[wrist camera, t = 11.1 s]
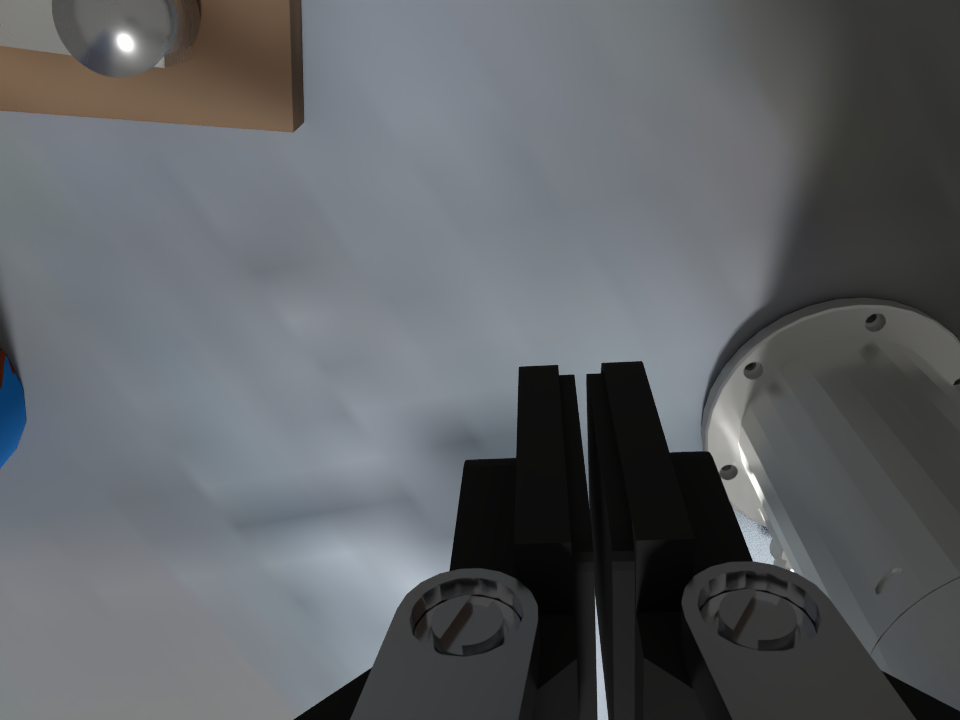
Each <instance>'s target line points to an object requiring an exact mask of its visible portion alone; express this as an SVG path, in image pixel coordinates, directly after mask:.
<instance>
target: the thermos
mask: <svg viewBox="0 0 960 720" xmlns="http://www.w3.org/2000/svg"><path fill="white" fill-rule="evenodd" d="M25 424H26V412H25V402H24V391H23V388H22V385H21V383H20V381H19V379H18V377H17V375H16V373H15V371H14V369H13V367H12V365H11V363H10V361H9V359H8V357H7V355H6V354H5V353H4V352H3V351H2V350H1V349H0V468H1V467H2V466H3V464H4V463H5V462H6V461H7V460H8V458H9V457H10V456H11V455H12V453H13V452H14V451H15V450H16V448H17V446H18V443H19V440H20V437H21V435H22V432H23V429H24V426H25Z"/></svg>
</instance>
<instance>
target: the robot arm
mask: <svg viewBox="0 0 960 720" xmlns="http://www.w3.org/2000/svg"><path fill="white" fill-rule="evenodd" d="M871 315H872V316H871ZM869 316H871V317H870V318H868V317H869ZM867 318H868V319H867ZM752 362H753V363H752ZM749 363H752V364H751V365H750V366H746V365H748V364H749ZM586 383H587V426H588V466H589V501H588V492H587V483H586V474H585V465H584V456H583V448H582V439H581V430H580V421H579V412H578V403H577V394H576V386H575V377H574V375H559V371H558V365H548V366H525V367H519V382H518V418H517V454H516V458H505V459H478V460H466V461H465V463H464V468H463V476H462V483H461V491H460V498H459V505H458V513H457V520H456V528H455V535H454V542H453V550H452V557H451V564H450V571H449V572H445V573H440V574H438V575H436V576H434V577H432V578H429V579H427V580H425V581H423V582H421V583H420V584H419V585H417V586H416V587H415V588H414V589H413V590H411V591H410V592H409V593H408V594H407V595H406V596H405V598H404V599H403V601H402V602H401V604H400V605H399V607H398V608H397V610H396V613H395V615H394V617H393V620H392V622H391V624H390V627H389V629H388V631H387V634H386V636H385V639H384V641H383V643H382V646H381V648H380V650H379V653H378V655H377V657H376V660H375V662H374V664H373V667H372V668H371V669H369V670H368V671H366V672H365V673H363V674H362V675H360V676H359V677H357V678H356V679H354V680H353V681H351V682H350V683H348V684H347V685H345V686H344V687H342V688H341V689H339V690H337V691H336V692H334V693H333V694H331V695H330V696H328V697H327V698H325V699H324V700H322V701H321V702H319V703H318V704H316V705H315V706H313V707H312V708H310V709H309V710H307V711H306V712H304V713H303V714H301V715H300V716H298V717H297V718H295V719H294V720H597V678H596V634H595V597H596V606H597V616H598V625H599V635H600V644H601V653H602V663H603V672H604V681H605V691H606V700H607V709H608V719H609V720H960V341H959V340H958V339H957V338H956V337H955V335H954V334H952V333H951V332H950V331H949V330H948V329H946V328H945V327H944V326H943V325H942V324H940V323H939V322H938V321H937V320H935V319H934V318H932V317H930V316H928V315H927V314H925V313H923V312H921V311H920V310H918V309H916V308H913V307H910V306H907V305H904V304H901V303H898V302H895V301H891V300H882V299H874V298H849V299H836V300H832V301H828V302H823V303H819V304H815V305H810V306H808V307H805V308H803V309H800V310H798V311H796V312H793V313H791V314H788V315H786V316H784V317H782V318H780V319H779V320H777V321H775V322H774V323H772V324H770V325H769V326H767V327H765V328H764V329H762V330H760V331H759V332H758V333H757V334H756V335H754V336H753V337H752V338H751V339H750V340H749V341H747V342H746V343H745V344H744V345H743V346H741V347H740V348H739V349H738V351H737V352H736V353H735V354H734V355H733V357H732V358H731V359H730V360H729V361H728V363H727V364H726V365H725V366H724V367H723V369H722V370H721V372H720V374H719V376H718V377H717V379H716V381H715V383H714V385H713V386H712V388H711V390H710V393H709V396H708V399H707V402H706V405H705V408H704V411H703V420H702V429H701V436H702V445H703V451H700V452H672V453H669V450H668V446H667V443H666V439H665V436H664V433H663V429H662V426H661V422H660V419H659V416H658V412H657V409H656V406H655V402H654V399H653V395H652V392H651V389H650V385H649V382H648V379H647V375H646V372H645V368H644V365H643V362H642V361H637V362H614V363H602V365H601V374H587V379H586ZM731 505H732V506H733V507H734V508H736V509H737V510H738V511H740V512H741V513H742V514H743V515H745V516H746V517H747V518H749V519H750V520H752V521H755V522H757V523H759V524H761V525H763V526H765V527H767V528H768V530H769V532H770V534H771V536H772V540H771V543H770V553H771V555H772V556H773V557H774V559H775V560H774V563H773V565H771V564H765V563H759V562H753V560H752V558H751V555H750V553H749V550H748V547H747V545H746V542H745V540H744V537H743V534H742V532H741V529H740V527H739V524H738V521H737V519H736V516H735V514H734V511H733V508H732V506H731ZM589 507H590V509H589ZM594 588H595V590H594Z"/></svg>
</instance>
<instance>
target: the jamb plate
mask: <svg viewBox="0 0 960 720" xmlns="http://www.w3.org/2000/svg"><path fill="white" fill-rule="evenodd" d="M197 3H198V7H199V13H200V26H199V32H198V35H197V38H196V40H195V42H194V44H193V46H192V47H191V51H192V58H191V59H188V60H185V61H183V62H180V63H177V64H175V65H172V66H169V67H167V68H159V67H156V68H153V69H151V70H148V71H145V72H142V73H140V74H137V75H134V76H130V77H124V78H115V77H108V76H104V75H101V74H98V73H96V72H94V71H92V70H90V69H88V68H87V67H85V66H84V65H82V64H81V63H80V62H78V61H77V60H76V59H75V58H74V57H73V56H72V55H64V54H57V53H50V52H42V51H35V50H28V49H21V48H13V47H6V46H0V110H1V111H15V112H28V113H41V114H55V115H68V116H81V117H95V118H108V119H122V120H135V121H148V122H162V123H175V124H189V125H202V126H215V127H229V128H242V129H255V130H269V131H282V132H294V131H295V130H296V129H297V128H299V127H300V126H301V125H302V124H303V123H304V103H303V61H302V20H301V0H197Z"/></svg>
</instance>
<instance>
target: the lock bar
mask: <svg viewBox="0 0 960 720" xmlns="http://www.w3.org/2000/svg"><path fill="white" fill-rule="evenodd" d="M199 26H200V13H199V7H198V3H197V0H0V46H6V47H13V48H21V49H28V50H35V51H42V52H50V53H57V54H64V55H72V56H73V57H74V58H75V59H76V60H77V61H78V62H80V63H81V64H82V65H84V66H85V67H87V68H88V69H90V70H92V71H94V72H96V73H98V74H101V75H104V76H108V77H115V78H124V77H130V76H134V75H137V74H140V73H142V72H145V71H148V70H151V69H153V68H156V67H159V68H167V67H169V66H172V65H175V64H177V63H180V62H183V61H185V60H188V59H191V58H192V51H191V47H192V46H193V44H194V42H195V40H196V38H197V35H198V32H199Z"/></svg>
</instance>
